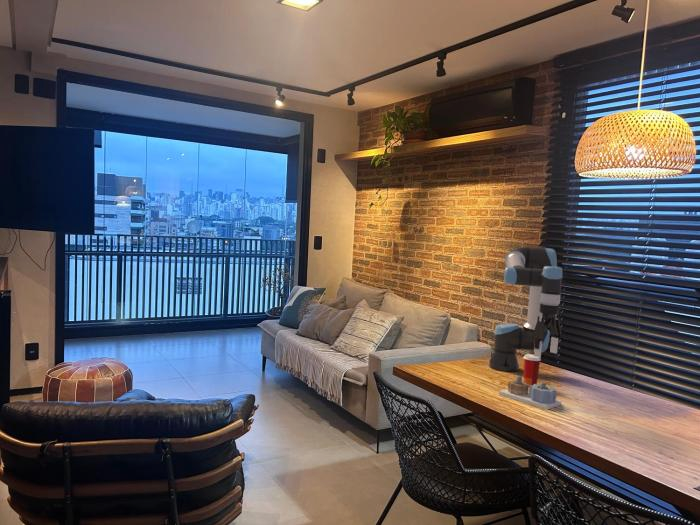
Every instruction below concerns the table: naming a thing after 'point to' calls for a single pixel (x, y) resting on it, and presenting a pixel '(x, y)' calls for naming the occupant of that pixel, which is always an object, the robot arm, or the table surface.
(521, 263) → the robot arm
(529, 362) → the paper cup
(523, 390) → the beech gear
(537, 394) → the gray gear
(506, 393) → the gear board
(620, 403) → the table surface
